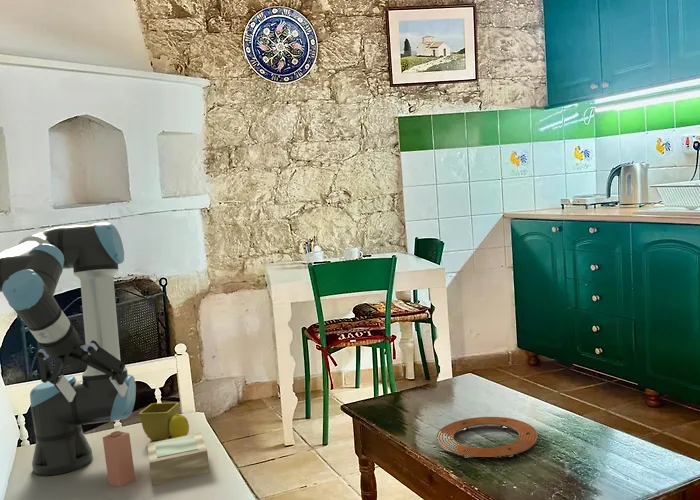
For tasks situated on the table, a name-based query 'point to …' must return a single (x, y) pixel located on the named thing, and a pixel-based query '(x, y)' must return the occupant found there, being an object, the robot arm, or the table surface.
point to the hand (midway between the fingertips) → (98, 394)
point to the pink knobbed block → (119, 458)
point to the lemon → (178, 426)
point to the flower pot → (158, 419)
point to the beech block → (177, 458)
